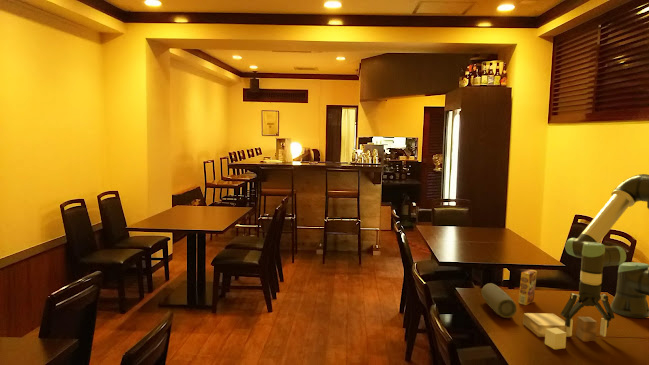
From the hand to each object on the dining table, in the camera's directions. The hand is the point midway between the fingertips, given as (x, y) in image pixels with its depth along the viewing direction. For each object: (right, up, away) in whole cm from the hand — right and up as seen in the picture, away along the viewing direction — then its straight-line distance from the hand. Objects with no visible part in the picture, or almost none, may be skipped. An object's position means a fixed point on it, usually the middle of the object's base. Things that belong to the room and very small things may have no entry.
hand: (585, 334), depth 189 cm
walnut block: (0, -2, 0) cm, 2 cm away
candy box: (-6, +2, +41) cm, 41 cm away
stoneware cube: (-16, -2, -7) cm, 17 cm away
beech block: (-12, -1, +8) cm, 14 cm away
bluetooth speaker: (-25, +2, +28) cm, 38 cm away
